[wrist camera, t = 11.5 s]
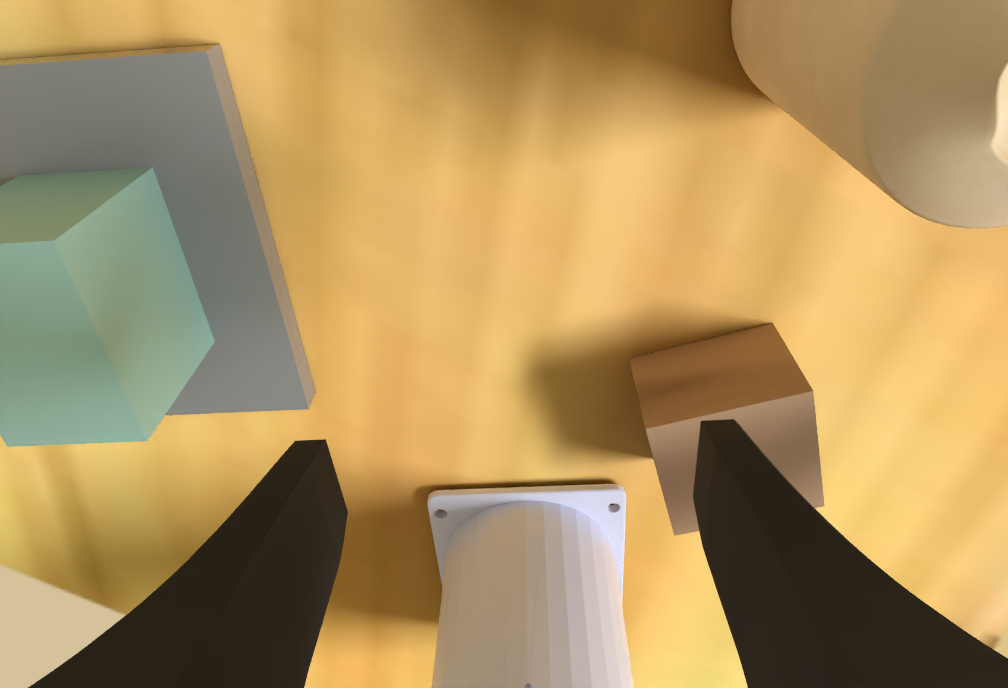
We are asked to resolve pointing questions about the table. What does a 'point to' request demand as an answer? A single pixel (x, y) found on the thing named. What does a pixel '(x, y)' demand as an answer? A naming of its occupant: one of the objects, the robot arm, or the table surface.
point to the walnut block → (727, 410)
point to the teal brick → (92, 309)
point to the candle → (894, 93)
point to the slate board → (173, 197)
